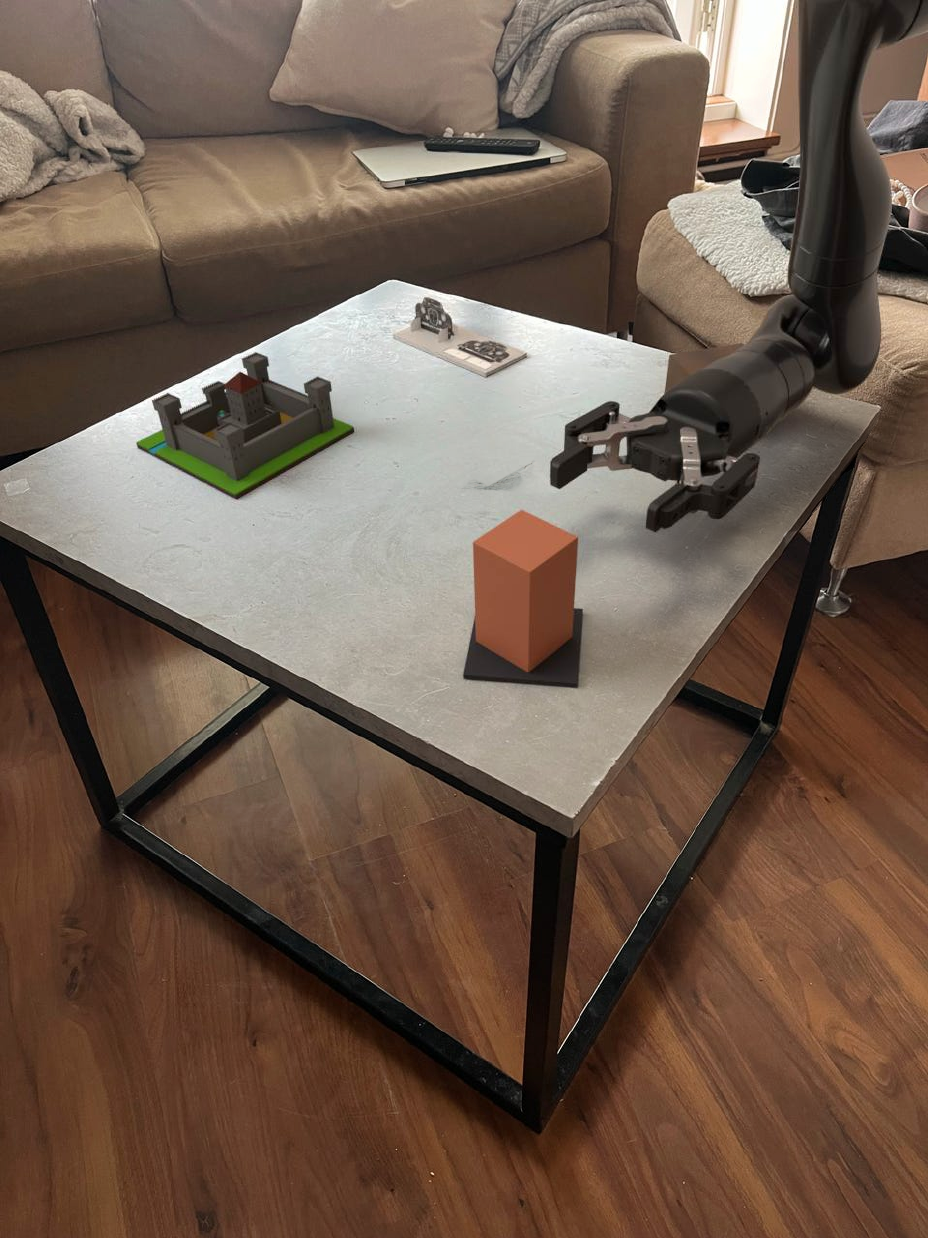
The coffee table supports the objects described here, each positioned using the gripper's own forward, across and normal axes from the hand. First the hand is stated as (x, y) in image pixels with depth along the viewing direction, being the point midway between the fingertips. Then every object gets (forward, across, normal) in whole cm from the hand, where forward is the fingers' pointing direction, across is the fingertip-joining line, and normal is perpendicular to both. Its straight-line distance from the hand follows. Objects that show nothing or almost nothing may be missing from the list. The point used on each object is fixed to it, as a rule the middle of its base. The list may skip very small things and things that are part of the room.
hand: (600, 497), depth 66 cm
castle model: (+3, -40, +9) cm, 41 cm away
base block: (-30, -8, +9) cm, 33 cm away
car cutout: (-25, -38, +9) cm, 46 cm away
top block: (+8, 0, +8) cm, 12 cm away
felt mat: (+8, 0, +9) cm, 12 cm away
